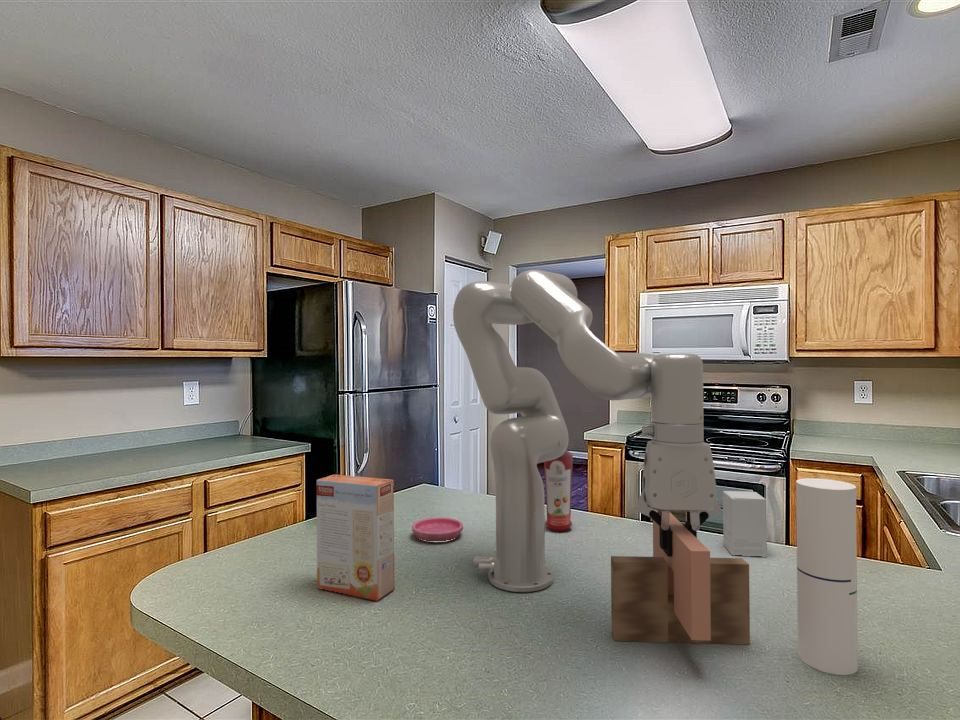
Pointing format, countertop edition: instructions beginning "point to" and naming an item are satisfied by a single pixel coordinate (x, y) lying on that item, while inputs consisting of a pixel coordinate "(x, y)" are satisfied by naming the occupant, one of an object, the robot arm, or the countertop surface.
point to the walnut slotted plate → (650, 610)
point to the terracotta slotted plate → (687, 579)
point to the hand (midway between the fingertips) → (678, 552)
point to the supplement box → (744, 523)
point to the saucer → (437, 529)
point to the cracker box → (355, 535)
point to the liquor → (559, 492)
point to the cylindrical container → (827, 575)
